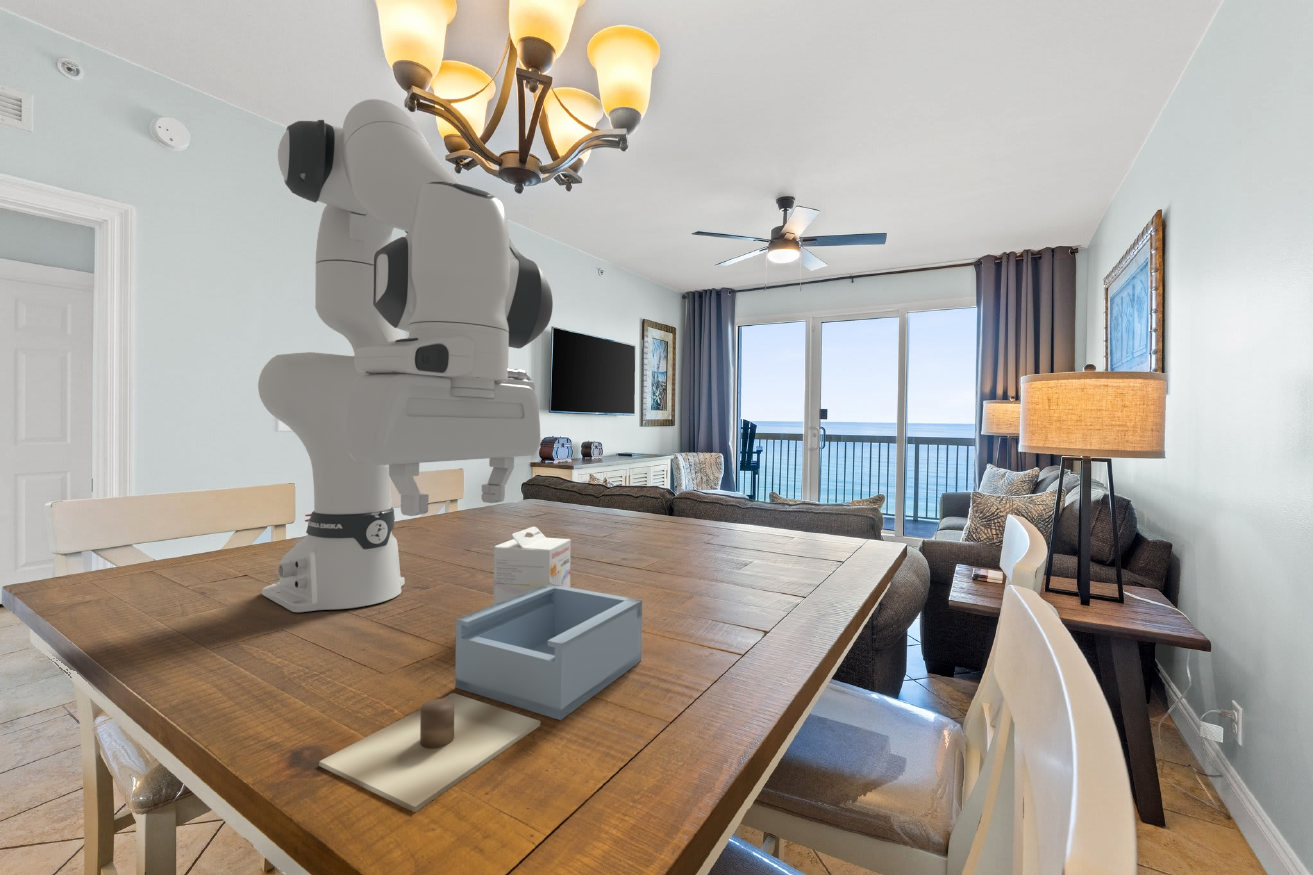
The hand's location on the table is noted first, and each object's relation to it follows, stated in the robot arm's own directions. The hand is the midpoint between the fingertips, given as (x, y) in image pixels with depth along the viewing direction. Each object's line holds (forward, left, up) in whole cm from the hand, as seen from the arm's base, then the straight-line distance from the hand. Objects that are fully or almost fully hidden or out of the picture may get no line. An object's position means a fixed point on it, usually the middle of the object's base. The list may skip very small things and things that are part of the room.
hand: (456, 507), depth 54 cm
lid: (+2, -4, -21) cm, 21 cm away
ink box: (-11, +25, -21) cm, 34 cm away
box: (+2, +13, -20) cm, 24 cm away
